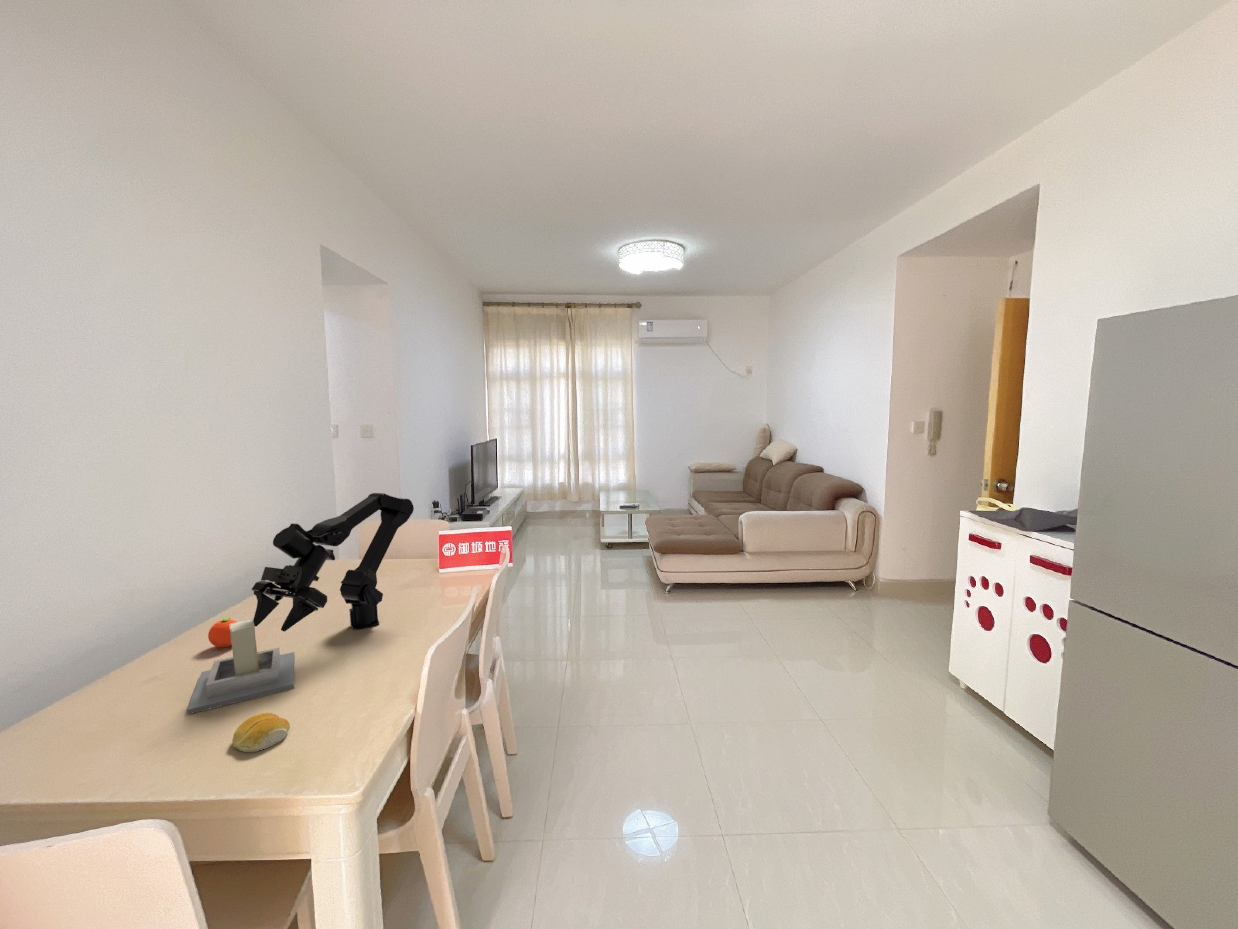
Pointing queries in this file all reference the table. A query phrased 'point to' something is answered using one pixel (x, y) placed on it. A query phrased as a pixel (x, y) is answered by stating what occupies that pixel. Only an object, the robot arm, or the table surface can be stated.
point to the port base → (285, 683)
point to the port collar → (244, 681)
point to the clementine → (221, 633)
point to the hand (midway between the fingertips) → (268, 628)
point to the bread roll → (260, 732)
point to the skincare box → (244, 647)
